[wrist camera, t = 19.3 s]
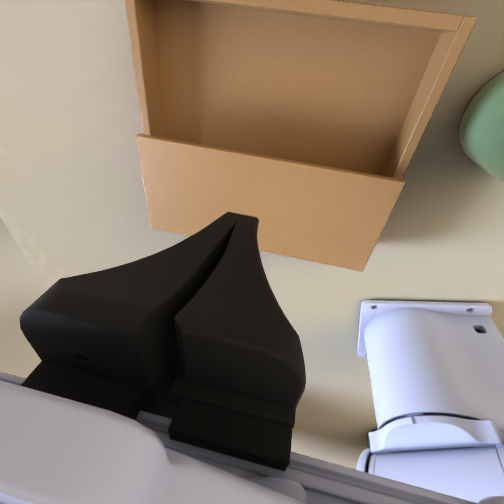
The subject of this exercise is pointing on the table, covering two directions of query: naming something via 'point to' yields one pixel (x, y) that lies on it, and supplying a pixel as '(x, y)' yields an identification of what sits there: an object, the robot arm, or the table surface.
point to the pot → (485, 128)
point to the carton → (294, 77)
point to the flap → (268, 199)
